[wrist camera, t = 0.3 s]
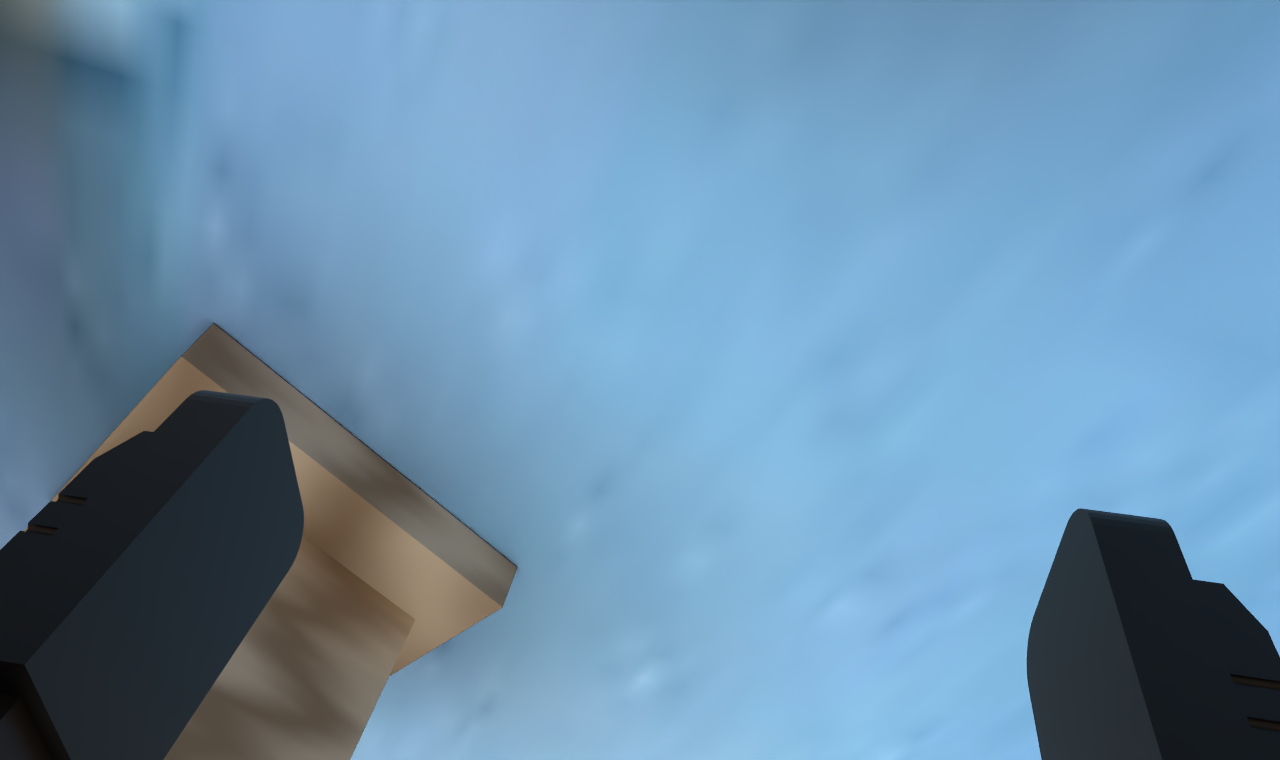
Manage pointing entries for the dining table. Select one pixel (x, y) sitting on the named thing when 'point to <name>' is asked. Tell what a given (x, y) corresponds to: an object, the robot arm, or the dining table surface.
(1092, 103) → the dining table surface
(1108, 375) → the dining table surface
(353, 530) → the stand
